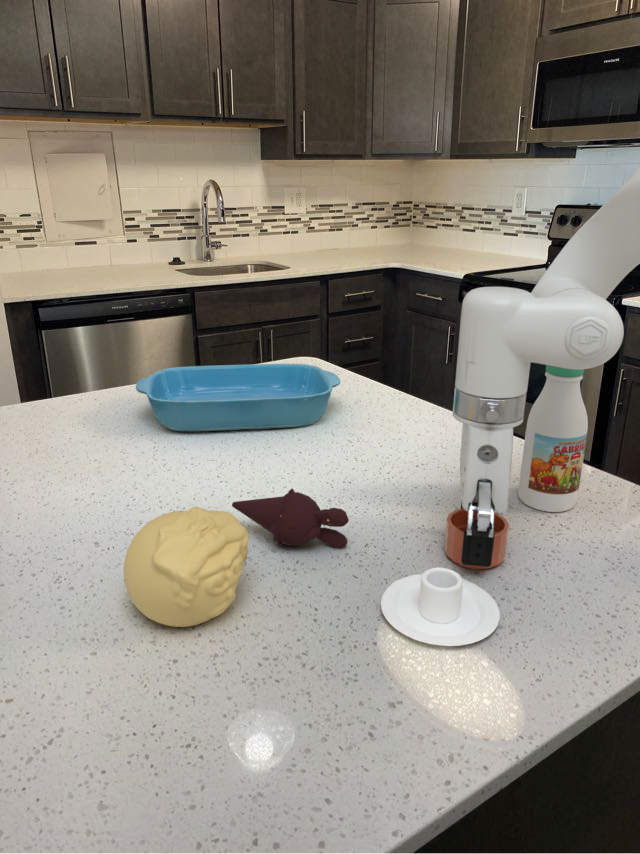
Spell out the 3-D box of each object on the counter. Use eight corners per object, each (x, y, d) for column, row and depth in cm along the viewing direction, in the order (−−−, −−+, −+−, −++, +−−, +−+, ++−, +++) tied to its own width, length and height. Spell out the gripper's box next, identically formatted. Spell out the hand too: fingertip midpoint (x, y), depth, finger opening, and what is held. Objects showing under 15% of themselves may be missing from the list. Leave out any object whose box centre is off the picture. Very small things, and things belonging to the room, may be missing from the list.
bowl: (496, 539, 82) (500, 507, 80) (511, 571, 75) (516, 537, 74) (439, 539, 82) (442, 507, 80) (450, 571, 75) (453, 537, 74)
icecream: (216, 502, 77) (339, 532, 73) (242, 464, 83) (357, 490, 79) (221, 544, 81) (338, 574, 78) (246, 504, 87) (355, 531, 83)
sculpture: (199, 658, 62) (191, 558, 58) (105, 618, 67) (92, 525, 63) (267, 594, 71) (264, 505, 67) (180, 564, 77) (173, 479, 73)
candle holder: (384, 574, 75) (385, 541, 73) (493, 584, 73) (497, 550, 71) (376, 645, 64) (378, 607, 62) (505, 658, 62) (509, 619, 60)
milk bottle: (506, 499, 92) (522, 359, 85) (536, 483, 97) (554, 349, 89) (557, 519, 86) (578, 372, 79) (586, 501, 91) (609, 360, 84)
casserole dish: (328, 391, 136) (328, 358, 134) (350, 431, 116) (351, 392, 113) (144, 401, 131) (141, 366, 128) (133, 443, 110) (129, 403, 108)
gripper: (534, 436, 63) (513, 587, 69) (516, 383, 79) (501, 510, 85) (454, 430, 64) (441, 580, 71) (452, 379, 80) (442, 504, 86)
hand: (474, 541), depth 78 cm, fingers open, 9 cm apart
